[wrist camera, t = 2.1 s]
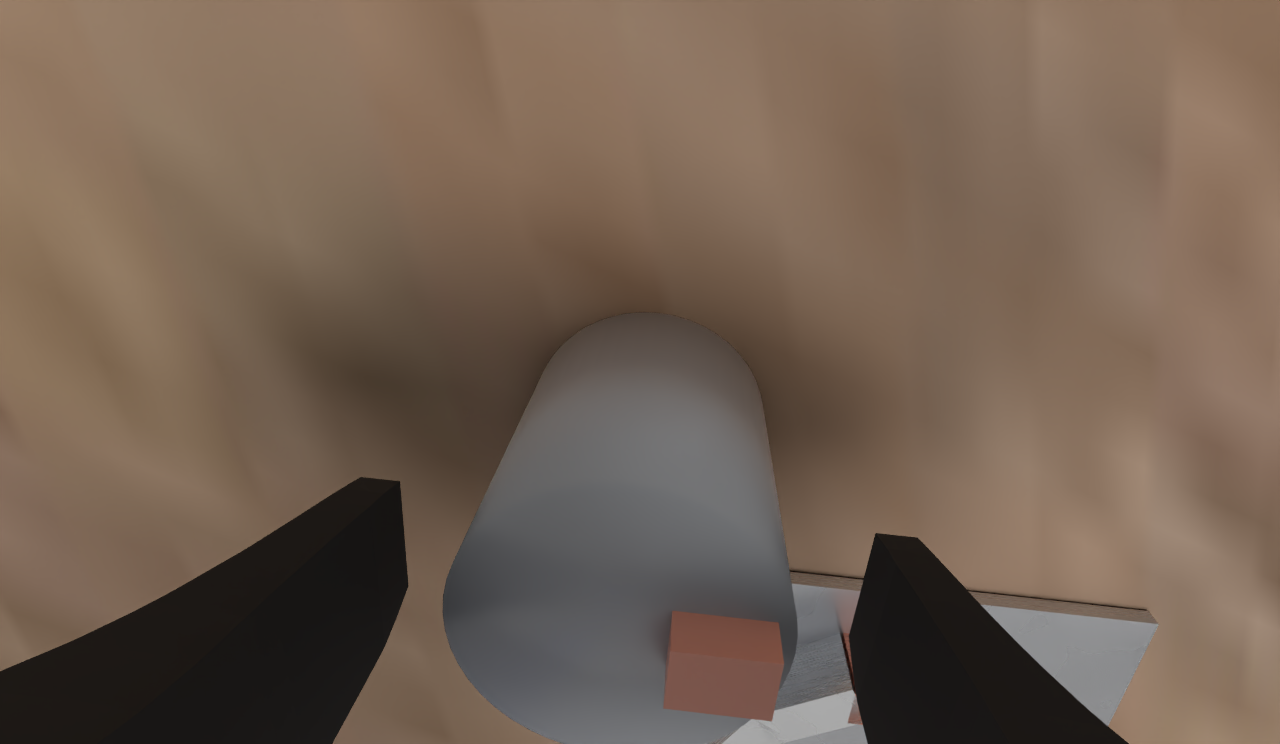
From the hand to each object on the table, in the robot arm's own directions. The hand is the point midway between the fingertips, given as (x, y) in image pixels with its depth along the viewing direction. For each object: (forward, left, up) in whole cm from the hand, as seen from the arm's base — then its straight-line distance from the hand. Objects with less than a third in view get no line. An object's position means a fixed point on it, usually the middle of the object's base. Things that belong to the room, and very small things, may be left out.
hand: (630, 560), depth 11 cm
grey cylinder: (0, 0, -5) cm, 5 cm away
